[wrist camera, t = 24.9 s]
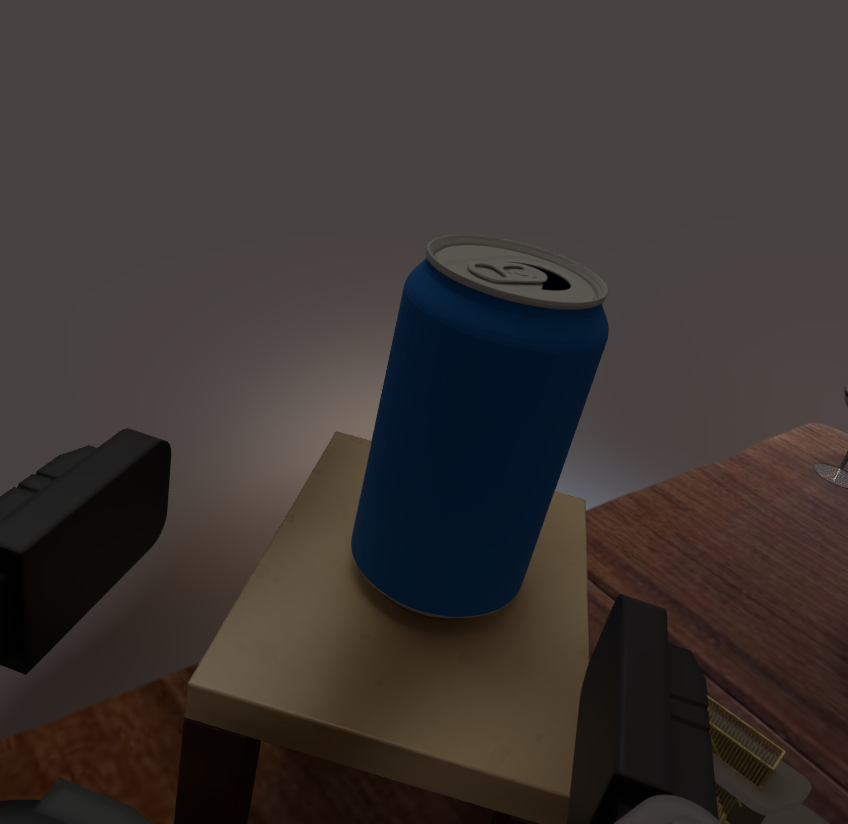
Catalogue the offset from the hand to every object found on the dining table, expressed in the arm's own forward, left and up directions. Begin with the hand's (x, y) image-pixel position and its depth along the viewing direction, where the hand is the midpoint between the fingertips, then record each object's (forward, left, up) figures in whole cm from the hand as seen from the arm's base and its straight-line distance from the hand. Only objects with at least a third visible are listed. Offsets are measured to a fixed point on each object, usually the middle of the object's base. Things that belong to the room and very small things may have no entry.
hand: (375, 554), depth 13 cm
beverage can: (+1, +13, -10) cm, 16 cm away
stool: (+1, +13, -28) cm, 31 cm away
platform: (+18, +22, -28) cm, 40 cm away
